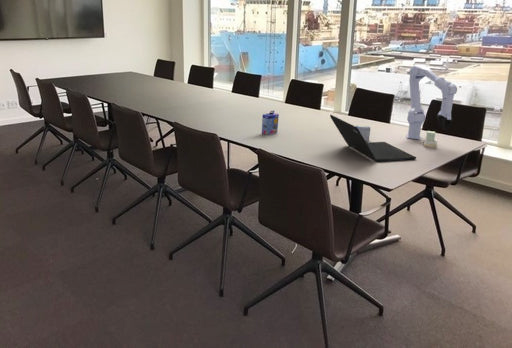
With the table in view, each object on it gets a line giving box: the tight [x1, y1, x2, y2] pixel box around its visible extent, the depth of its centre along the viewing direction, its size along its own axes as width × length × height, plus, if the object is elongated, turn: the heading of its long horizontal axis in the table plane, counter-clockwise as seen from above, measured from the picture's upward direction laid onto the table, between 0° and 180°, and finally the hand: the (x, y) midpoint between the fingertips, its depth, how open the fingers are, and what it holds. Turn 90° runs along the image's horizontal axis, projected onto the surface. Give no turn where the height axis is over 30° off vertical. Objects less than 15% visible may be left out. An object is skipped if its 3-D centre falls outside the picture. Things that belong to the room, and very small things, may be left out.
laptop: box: [329, 114, 417, 162], centre depth 260 cm, size 33×38×19 cm
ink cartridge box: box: [261, 110, 280, 136], centre depth 295 cm, size 10×6×14 cm, turn 137°
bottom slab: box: [423, 141, 438, 149], centre depth 281 cm, size 7×7×2 cm
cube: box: [425, 130, 436, 141], centre depth 279 cm, size 4×4×4 cm
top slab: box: [423, 137, 438, 146], centre depth 280 cm, size 6×6×2 cm
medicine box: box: [355, 125, 371, 142], centre depth 287 cm, size 8×4×9 cm, turn 92°
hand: (442, 129), depth 277 cm, fingers open, 7 cm apart
